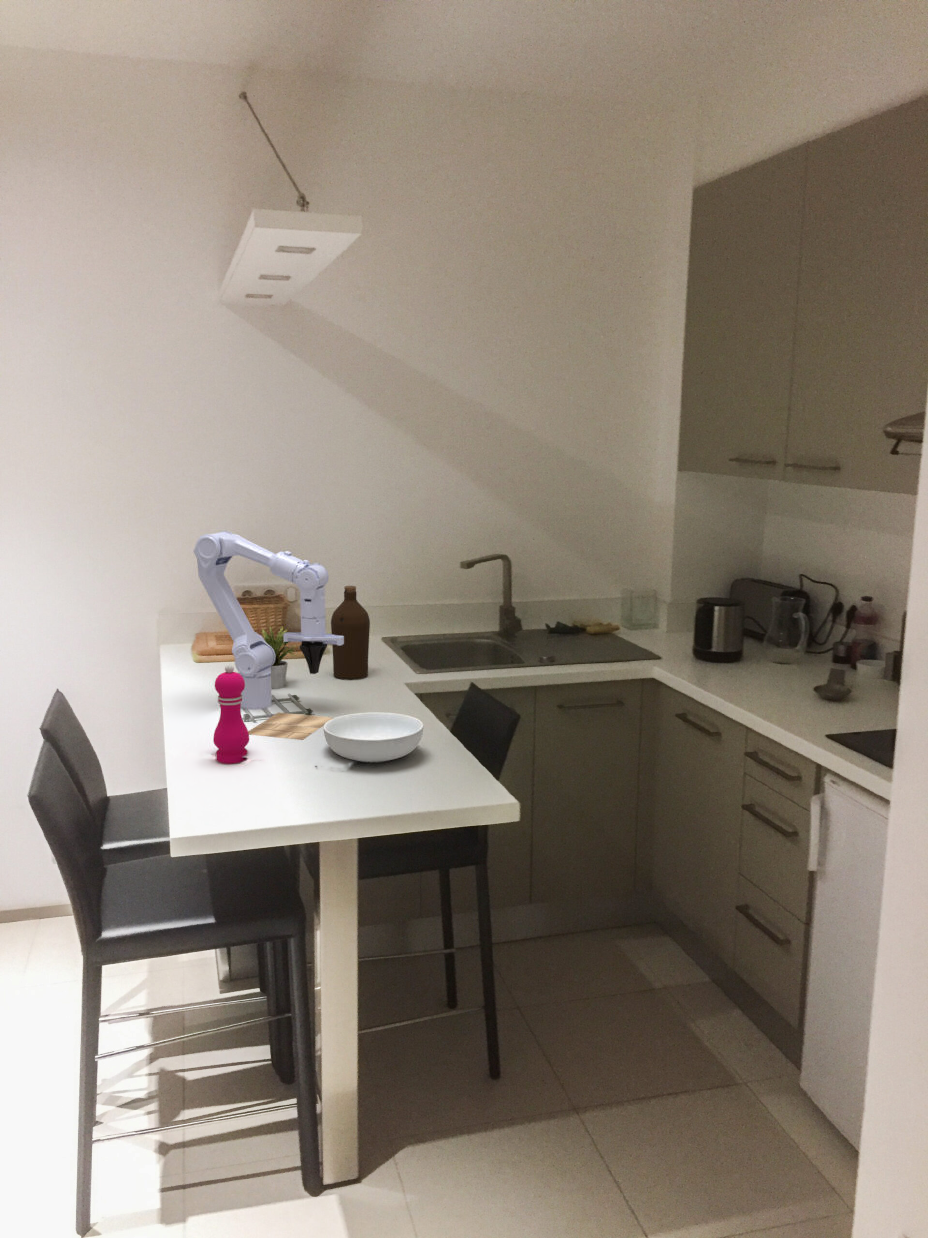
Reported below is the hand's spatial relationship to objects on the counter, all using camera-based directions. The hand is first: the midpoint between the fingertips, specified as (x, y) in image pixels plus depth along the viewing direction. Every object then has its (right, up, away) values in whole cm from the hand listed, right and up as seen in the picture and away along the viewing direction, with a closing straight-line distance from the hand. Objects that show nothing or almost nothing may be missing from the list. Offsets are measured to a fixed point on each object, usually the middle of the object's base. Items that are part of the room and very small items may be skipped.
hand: (314, 673), depth 239 cm
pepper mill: (-12, -16, -30) cm, 37 cm away
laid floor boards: (-5, -13, -15) cm, 20 cm away
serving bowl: (+17, -16, -27) cm, 35 cm away
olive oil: (+4, -3, +41) cm, 41 cm away
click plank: (-3, -12, -6) cm, 13 cm away
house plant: (-14, -5, +27) cm, 31 cm away
